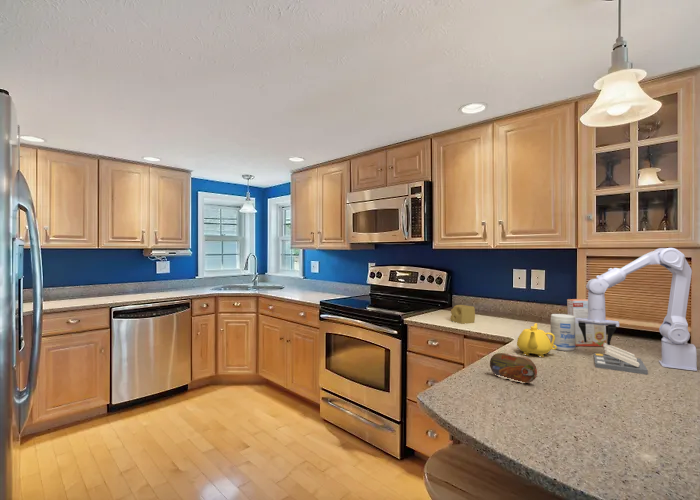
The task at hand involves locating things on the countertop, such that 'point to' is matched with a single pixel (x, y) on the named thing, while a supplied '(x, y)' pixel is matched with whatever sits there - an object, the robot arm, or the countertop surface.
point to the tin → (513, 367)
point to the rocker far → (618, 349)
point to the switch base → (618, 364)
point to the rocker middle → (620, 353)
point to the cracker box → (593, 332)
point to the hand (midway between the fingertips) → (596, 342)
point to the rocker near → (622, 358)
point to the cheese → (463, 314)
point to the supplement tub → (563, 331)
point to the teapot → (535, 341)
